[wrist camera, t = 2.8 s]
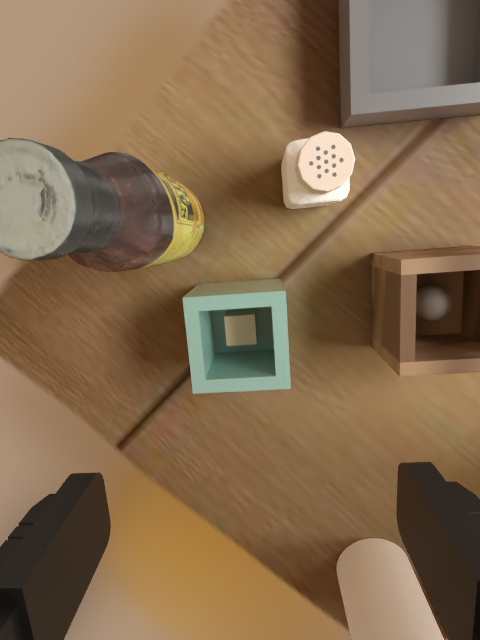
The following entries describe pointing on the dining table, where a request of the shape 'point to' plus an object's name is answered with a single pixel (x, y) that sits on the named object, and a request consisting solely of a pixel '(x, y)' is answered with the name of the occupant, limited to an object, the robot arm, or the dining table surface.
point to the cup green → (237, 336)
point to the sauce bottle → (93, 209)
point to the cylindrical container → (383, 594)
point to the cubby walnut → (427, 310)
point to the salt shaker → (316, 170)
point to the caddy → (408, 60)
